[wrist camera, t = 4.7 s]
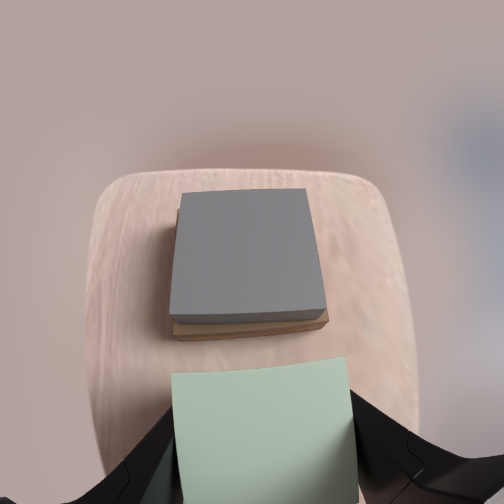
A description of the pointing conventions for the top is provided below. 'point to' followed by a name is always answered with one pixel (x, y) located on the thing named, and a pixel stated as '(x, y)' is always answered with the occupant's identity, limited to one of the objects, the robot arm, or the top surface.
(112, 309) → the top surface
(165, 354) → the top surface
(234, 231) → the charcoal top slab
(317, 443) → the sage green block
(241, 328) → the walnut base slab
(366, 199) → the top surface
